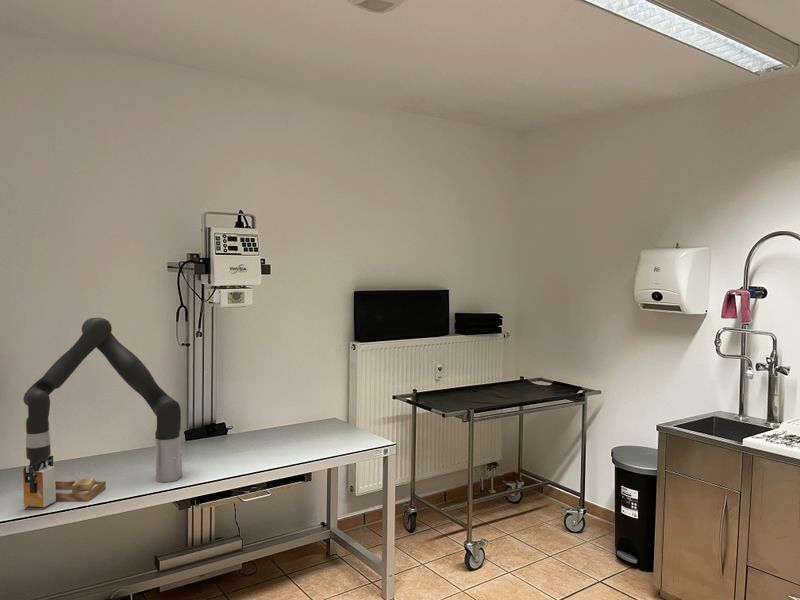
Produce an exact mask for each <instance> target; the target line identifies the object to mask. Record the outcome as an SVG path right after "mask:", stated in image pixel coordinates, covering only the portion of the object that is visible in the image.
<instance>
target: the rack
mask: <svg viewBox="0 0 800 600" xmlns="http://www.w3.org/2000/svg"><path fill="white" fill-rule="evenodd" d="M76 481H77V480H55V486H56V490H68V491H69V490H70V491H72V485H73V484H74V483H75V482H76ZM106 482H107V481H105V480H95V484H98V485H97V486H96V487H94V488H93V489H91V490H90V491H88V492H87V493H69V492H58V491H57V492H56V501H55V502H61V503H62V502H68V503H69V502H70V503H71V502H74V503H76V502H81V503H82V502H83V503H84V502H86V503H87V502H90V501H91V500H93V499H94V498H95V497H97V496H98V495H99V494H101V493H102V492H104V491H105V490H106V489H107V483H106Z"/></svg>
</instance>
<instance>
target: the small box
mask: <svg viewBox="0 0 800 600" xmlns="http://www.w3.org/2000/svg"><path fill="white" fill-rule="evenodd" d="M33 474H38V476H37V482H36V483H37V493H30V484H29V483H25V478H24V470H23V471H22V479H23V482H22V484H23V506H24V507H27V506H35V507H45V506H47V505H49V504H51V503H53V502H54V503H56V502H57V501H56V491H57V489H56V486H55V481H56V467H55V466H54V465H53V466H49V465H48V466H47V467H44V468H42V469H41V470H40V471H33ZM33 478H35V476H33ZM28 480H29V477H28ZM54 503H53V504H54Z"/></svg>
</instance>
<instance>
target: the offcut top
mask: <svg viewBox="0 0 800 600" xmlns="http://www.w3.org/2000/svg"><path fill="white" fill-rule="evenodd" d="M75 481H76V482H75V483H74V484H73V485H72V490H71V491H72V492H83V491H90V490H91V489H92V487H93V486H94V485H95V481H96V478H95V477H93V478H92V477H91V478H79V479H78V478H77V479H76V480H75Z"/></svg>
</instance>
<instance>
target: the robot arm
mask: <svg viewBox="0 0 800 600" xmlns="http://www.w3.org/2000/svg"><path fill="white" fill-rule="evenodd" d="M112 329H113V328H112V323H110V321H109V320H107V319H106V318H103V317H91V318H88V319H86V320H85V321H84V322H83V323H82V325H81V336H80V337H79V338H78V340H76V342H75V343H74V344H73V345H71V347H70V348H69V349H68V350H67V351H66V352H65V353H64V354H62V355H61V356H60V357H59V358H58V359H57V360H56V361H55V362H54V363H52V365H51V366H50V367H49V369H48V370H47V371H46V372H45V373H44V375H42V377H41V378H39V379H38V380H37V381H36V382H34V383H33V384H32V385H31V386H30V387H29V388H28V389H27V390H26V391H25V393H24V395H23V402H24V404H25V406H27V411H28V412H27V416H28V417H26V420H25V432H26V435H25V449H26V450H25V452H26V454H25V455H26V457H25V458H26V459H28V460H29V464H28V466H24V467H23V471H24V478H25V483H29V484H30V493H37V483H36V482H37V476H38V474H33V471H40V470H41V469H42V468H44V467H47V466H54V455H51V451H52V450H51V449H52V448H51V434H50V422H49V421H50V420H49V415H50V411H51V410H50V408H51V399H50V398H51V397H50V395H51V394H52V393H53V392H54V391H55V390H56V389H60V388H61V387H62V386H63V384H65V382H67V380H68V379H69V378H70V376H72V374H73V373H74V372H75V371H76V369H77V368H78V367H79V366H80V365H81V364H82V362H83V361H84V360H85V359H86V358H87V357H88V356H89V355H90V354H91V353H92V352H93V351H94V350H95V349H97V350H98V351H99V352H100V353H101V354H102V355H103V356H104V357H105V358H106V360H107V361H108V363H109V364H110V365H111V366H112V368H113V369H114V371H116V373H117V374H118V375H119V376H120V377H121V378H122V379H123V381H124V382H125V383H127V385H128V386H129V387H130V388H131V389H133V390H134V392H137V394H138V395H140V396H141V397H142V398H143V400H145V402H146V403H147V405H148V406H149V408H150V409H151V410H152V412H153V414H154V415H155V416H156V429H155V433H154V434H155V437H154V438H155V479H156V480H155V481H157V482H160V483H170V482H176V481H178V480H179V479H180V478H181V477H182V476H183V457H182V455H183V454H182V453H181V450H180V449H181V448H180V446H181V445H180V443H181V442H180V441H181V440H180V439H181V438H180V437H181V435H180V432H181V429H182V426H181V425H182V415H181V414H182V413H181V412H182V411H181V410H182V409H181V406H180V403H179V402H178V401H176V400H175V399H174V398H172V397H171V396H170V395H169V394H167V393H166V392H165V391H164V389H163V388H161V387H160V386H159V384H158V383H157V382H156V380H155V378H154V376H153V375H152V374H151V372H150V371H149V369H148V367H147V366H146V365H145V364H144V363H143V362H142V360H140V359H139V357H138V356H137V355H136V354H134V353H133V352H132V351H131V350H129V349H128V348H127V347H126V346H124V345H123V344H122V343H121V342H119V341H118V339H117V338H116V336H115V335H114V334H113V333H112ZM33 476H35V478H33ZM28 477H29V480H28Z"/></svg>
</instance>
